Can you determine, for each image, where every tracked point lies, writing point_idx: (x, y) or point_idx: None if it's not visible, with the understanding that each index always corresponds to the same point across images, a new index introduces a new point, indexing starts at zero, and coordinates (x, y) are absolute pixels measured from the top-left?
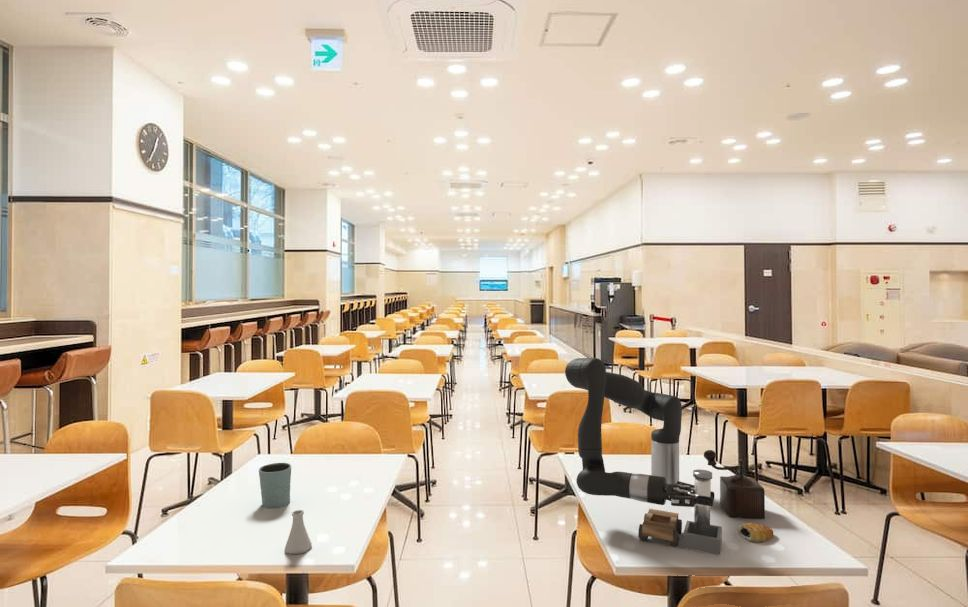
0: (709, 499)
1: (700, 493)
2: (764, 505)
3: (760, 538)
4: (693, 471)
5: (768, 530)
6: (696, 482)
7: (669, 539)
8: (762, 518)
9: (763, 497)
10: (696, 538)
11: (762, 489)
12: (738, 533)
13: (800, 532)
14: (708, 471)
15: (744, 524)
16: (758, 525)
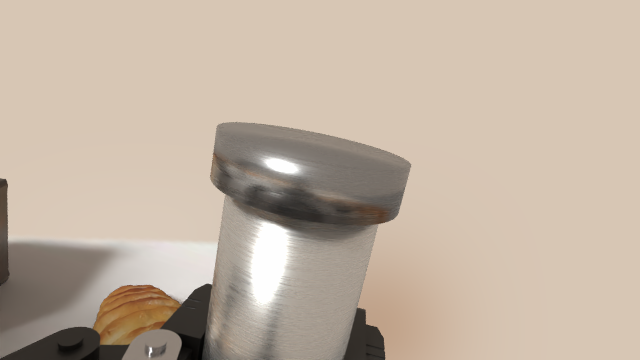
0: (368, 329)
1: (345, 345)
2: (7, 235)
3: None
4: (318, 160)
5: (163, 292)
6: (346, 273)
7: None
8: (4, 281)
9: (4, 210)
10: None
11: (2, 183)
12: None
13: (133, 252)
14: (273, 126)
15: (120, 332)
16: (146, 298)
